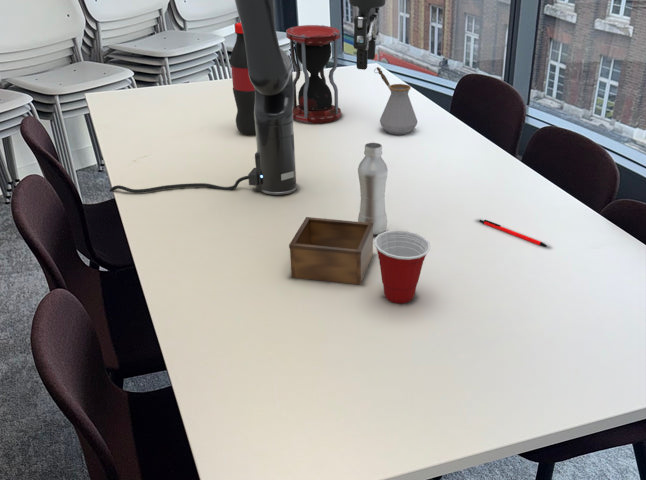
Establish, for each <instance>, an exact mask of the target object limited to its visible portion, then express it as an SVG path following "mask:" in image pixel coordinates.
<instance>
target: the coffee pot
mask: <svg viewBox="0 0 646 480" xmlns="http://www.w3.org/2000/svg"><path fill="white" fill-rule="evenodd" d="M376 70H377V72H376ZM373 72H374V73H375V74H378V75H380V77H381V80H382V81H383V82H384V83H385V85H386V86H387V88H388V89H389V92H390V95H389V97H388V100H387V102H386V105H385V106H384V109H383V111H382V114H381V116H380V119H379V124H380V126H381V128H383V129H384V130H385V132H386V133H388V134H391V135H396V136H397V135H398V136H402V135H408V134H410V133H411V132H412V131H414V130H415V128H416V126H417V124H418V119H417V116H416V113H415V110H414V107H413V105H412V102H411V99H410V95H409V92H410V90H411V89H412V87H411V85H408V84H403V83H394V84H390V82H389V80H388V79H387V76H386V75H385V74H384V73H383V70H382V69H381V68H380V67H379V66H377V67H376V68H375V69H374V70H373Z"/></svg>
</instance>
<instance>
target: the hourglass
mask: <svg viewBox="0 0 646 480" xmlns="http://www.w3.org/2000/svg"><path fill="white" fill-rule="evenodd" d="M285 32H286V33H285V34H286V38H287V39H288V40H289V44H290V46H289V47H290V61H291V65H293V67H294V69H295V78H293V121H296V122H300V123H304V124H312V125H313V124H314V125H315V124H316V125H317V124H327V123H328V124H329V123H332V122H335V121H337V120H339V119H340V118H341V117H342V110H341V108H340V107H339V89H338V86H337V84H336V83H335V81H334V73H335V71H336V69H337V67H338V40H339V39H340V38H341V31H340V29H338V28H336V27H333V26H328V25H323V24H322V25H319V24H305V25H297V26H291V27H289V28H287V29H286V30H285ZM331 43H333V65H332V68H331V69H330V70H329V72H328V80H329V83H330V85H331V86H332V88H333V92H334V93H333V95H332V91H331V89H330V87H329V86H328V85H327V79H326V76H325V67H326V66H327V64H328V63H329V61H330V59H331V57H332V44H331ZM295 53H296V57H297V60H298V61H299V63H300V64H301V68H302V73H303V74H304V75H303V76H304V82H303V83H302V85H301V86H300V88H299V90H298V94H297V82H298V81H299V79H300V77H301V74H302V73H301V69H300V66H299V65H298V63H297V61H296V58H295ZM297 96H298V97H297ZM333 97H334V99H333ZM297 100H298V101H297ZM333 101H334V104H333ZM297 102H298V103H297Z"/></svg>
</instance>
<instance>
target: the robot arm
mask: <svg viewBox="0 0 646 480" xmlns="http://www.w3.org/2000/svg"><path fill="white" fill-rule="evenodd" d="M234 3H235V7H236V11H237V15H238V18H239V23H241V25H242V29H243V34H244V40H245V47H246V55H247V64H248V74H249V78H250V81H251V83H252V85H253V86H254V88H255V106H254V118H255V130H256V135H255V141H256V152H255V153H254V163H255V167H253V168H252V170H251V171H249V173H248V174H247V175H245V176H244V175H243V176H241V177H239V178H238V179H237V180H235V183H234V184H233V185H230V186H221V185H216V184H211V183H205V182H204V183H203V182H200V183H198V182H197V183H194V182H193V183H178V184H168V185H161V186H160V185H159V186H155V187H149V188H140V189H139V188H138V189H137V188H135V189H134V188H130V187H127V186H123V185H114V186H112V187H111V188H110V189H109V193H113V192H114V191H116V190H122V191H125V192H129V193H132V194H142V193H151V192H156V191H162V190H169V189H170V190H171V189H180V188H181V189H182V188H201V187H202V188H210V189H215V190H222V191H232V190H235V189H236V188H238V187H239V184H240V183H241V182H243V181H246V180H248V186H256V188H257V192H261V193H264V194H266V195H270V196H284V195H289V194H292V193H294V192H295V191H296V190H297V189H298V185H297V174H296V173H297V172H296V170H297V169H296V152H295V130H294V119H293V80H294V77H293V75H294V74H293V66H292V65H293V64H292V61H291V58H290V57H289V55H288V54H287V52H286V51H285V50H284V49H283V48H281V47H280V43H279V39H278V35H277V30H276V18H275V17H276V14H275V8H276V7H275V0H234ZM348 3H349V4H350V5H351V6H352V7H357V8H358V12H357V13H358V15H356V16H354V18H353V49H355V51H356V69H357V70H363V71H365V70H367V69H368V60H371V61H373V60H374V59H375V58H376V41H377V39H378V36H379V21H380V19H379V18H380V17H379V12H380V8H382V7H384V6H385V5H386V0H348ZM360 41H362V42H360Z"/></svg>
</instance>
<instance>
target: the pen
mask: <svg viewBox="0 0 646 480" xmlns="http://www.w3.org/2000/svg"><path fill="white" fill-rule="evenodd" d="M479 222H480V223H482V224H483V225H486V226H489V227H490V228H494V229H496V230H498V231H500V232H501V231H502V232H503V233H507V234H509V235H512V236H514V237H516V238H519V239H522V240H524V241H527V242H530V243H533V244H535V245H538V246H539V247H540V246H541V247H545V248H546V247H548V245H547V244H545V243H544V242H543V241H541V240H538V239H535V238H532V237H530V236H527V235H524V234H522V233H519V232H516V231H514V230H512V229H509V228H507V227H504V226H502V225H501V224H498V223H496V222H493V221H490V220H488V219H484V220H482V219H479Z"/></svg>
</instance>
